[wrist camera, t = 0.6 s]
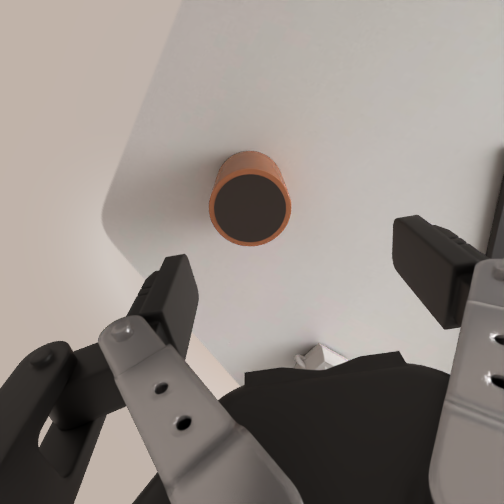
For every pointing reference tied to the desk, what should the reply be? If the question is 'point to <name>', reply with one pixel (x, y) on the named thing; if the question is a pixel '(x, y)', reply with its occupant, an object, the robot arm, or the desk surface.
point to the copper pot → (249, 200)
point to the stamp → (319, 359)
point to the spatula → (497, 230)
